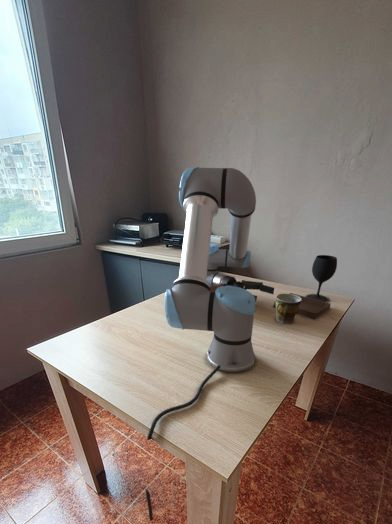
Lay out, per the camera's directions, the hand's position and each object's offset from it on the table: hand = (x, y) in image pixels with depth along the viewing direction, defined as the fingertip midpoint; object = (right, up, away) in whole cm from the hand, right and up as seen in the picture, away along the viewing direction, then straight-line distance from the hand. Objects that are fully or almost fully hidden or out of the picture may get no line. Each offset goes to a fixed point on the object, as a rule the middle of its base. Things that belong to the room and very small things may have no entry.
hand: (265, 295), depth 120 cm
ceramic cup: (+7, -11, -1) cm, 13 cm away
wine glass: (+31, +2, +22) cm, 38 cm away
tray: (+19, -4, +12) cm, 23 cm away
